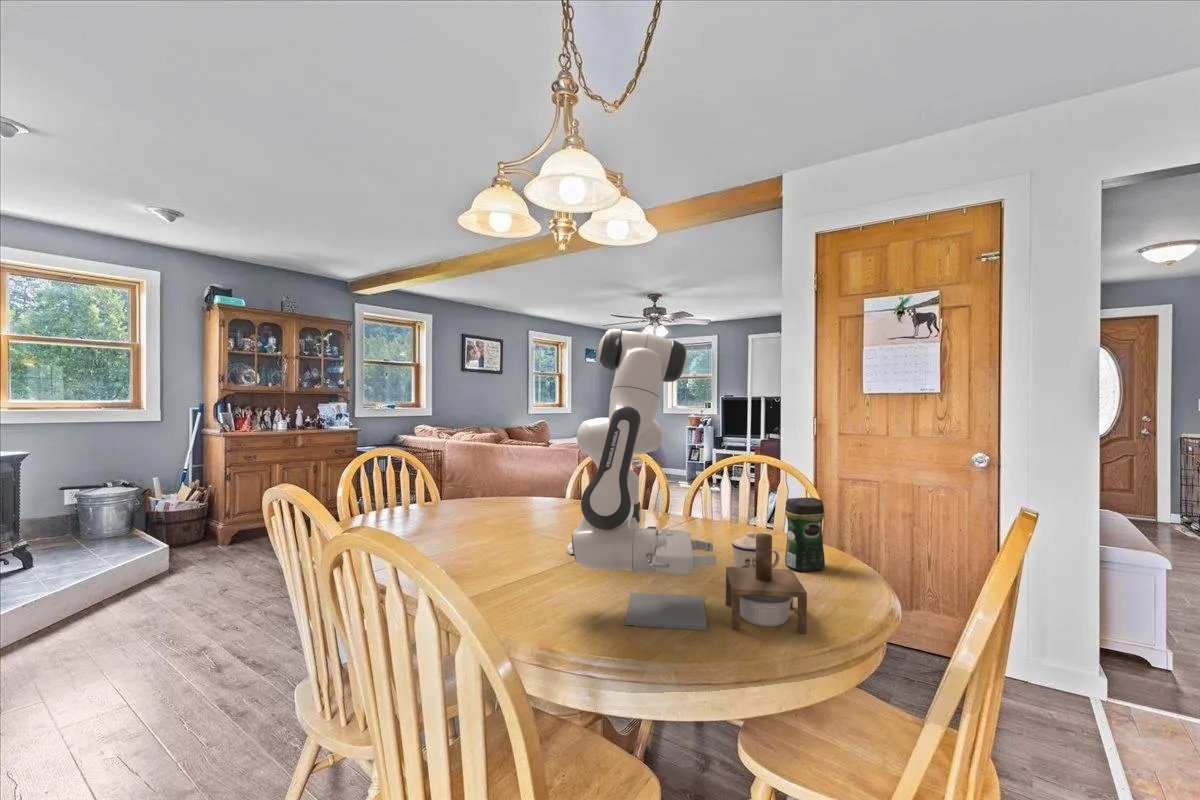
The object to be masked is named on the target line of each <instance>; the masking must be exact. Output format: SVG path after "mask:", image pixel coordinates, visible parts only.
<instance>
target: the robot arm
mask: <svg viewBox="0 0 1200 800" xmlns="http://www.w3.org/2000/svg"><path fill="white" fill-rule="evenodd" d="M597 352H598V358H599V363H600V364H601V365H602V366H603V367H604V368H605V369H607V370H609V371H611V372H612V371H615V374H614V379H613V383H612V387H611V391H610V395H609V407H608V409H609V410H608V417H596V418H591V419H587V420H584V421H583V422H582V423H581V424H580V425H579V427H578V430H577V432H576V440H577V441H576V442H577V444H578V447H579V449H580V450H581V451H582V452H583V453H584V454H585V455H587V456H588V458H590V459H591V460H592V462H593V463H594V464H595V467H596V468H597V471H596V474H595V475H594V477H593V478H592V479H591V481H590V482H589V483H588V485H587V487H586V488H585V489H584V491H583V493H582V495H581V500H580V508H581V509H580V510H581V512H582V516H583V517H582V519H581V521H580V523H579V524H578V526H577V527H576V528H575V529H574V530H573V531H572V534H571V542H569V544H568V545H567V549H566V552H567V554H568V555H571V554H574V555H573V556H574V559H575V561H576V562H577V563H578V564H579V565H580V566H581V567H584V568H588V569H593V570H601V571H616V570H628V571H629V572H642V573H656V572H658V573H662V574H668V575H669V574H670V575H679V576H690V575H693V574H694V568H700V567H704V566H716V565H717V555H716V554H714V553H713V554H711V553H706V554H703V555H702V554H700V555H699V554H697V553H695V554H694V551H696V550H698V551H704V552H713V550H714V544H713V542H712V541H706V540H705V541H704V540H700V539H697V538H692V536H691V533H690V532H689V531H684V530H677V529H670V528H669V529H668V528H667V529H666V528H660V529H658V526H656V525H655V526H654V525H652V526H651V525H650V526H647V527H646V528H645V527H644V528H641V525H640V522H641V519H642V518H641V517H642V513H641V511H642V509H641V507H642V506H641V501H639V499H640V478H639V476H638V474H637V473H636V472H635V471H634V470H633V469H631V466H632V461H633V457H634V455H643V454H648V453H652V452H655V451H657V450H658V449H659V448H660V446H661V445H662V442H663V437H664V436H663V430H662V427H661V424H659V422H658V421H657V420H656V419H655V416H656V413H657V410H658V407H659V402H660V400H661V399H660V398H661V393H662V386H663V382H664V383H671V382H672V383H673V382H675V381H678V380H679V379H680V378H681V376H682V375H683V373H684V372H685V370H686V368H687V365H688V364H687V363H688V355H687V348H686V347H685V345H684V344H683V343H681V342H679V341H677V340H674V339H672V340H671V339H668V338H666V337H662V336H658V335H656V334H651V333H645V332H639V331H633V330H632V331H631V330H623V329H622V328H610V329H607V331H605V334H604V335H603V336H602V338H601V339H600V341H599V345H598V350H597Z"/></svg>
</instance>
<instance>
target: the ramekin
mask: <svg viewBox="0 0 1200 800" xmlns="http://www.w3.org/2000/svg"><path fill="white" fill-rule="evenodd" d="M791 602H792V597H780V596H760V595H740V617H741V618H742V619H743V620H744V621H746V622H747V623H750V624H752V625H757V626H761V627H778V626H781V625H783V624H785V623H786V622H787V620H788V619H789V615H790V610H791V608H790V604H791Z"/></svg>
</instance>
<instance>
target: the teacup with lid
mask: <svg viewBox="0 0 1200 800" xmlns="http://www.w3.org/2000/svg"><path fill="white" fill-rule="evenodd" d="M731 546H732V567H744V568H756V533H755V532H754V531H747V532H746V535H743V536H742V537H740V538H736V539H734V540H733V541H732V543H731ZM772 553H774V554H775V560H774V562H772V569H776V567H778V565H779V563H780V558H781V557H780V555H781V554H780V553H779V551H778V550H776V549H774V548H772Z"/></svg>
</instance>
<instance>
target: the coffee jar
mask: <svg viewBox="0 0 1200 800" xmlns="http://www.w3.org/2000/svg"><path fill="white" fill-rule="evenodd" d="M784 512H785V516H786V519H787V534H786V535H787V537H786V545H785V557H784V562H785V565H786V567H788V569H791V570H795V571H798V572H814V570H815V571H822V570H824V568H825V566H826V563H825V551H824V549H825V548H824V542H823V521H824V517H825V507H824V503H823V500H822V499H819V498H816V497H794V498H787V499H786V501H785V509H784Z"/></svg>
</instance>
